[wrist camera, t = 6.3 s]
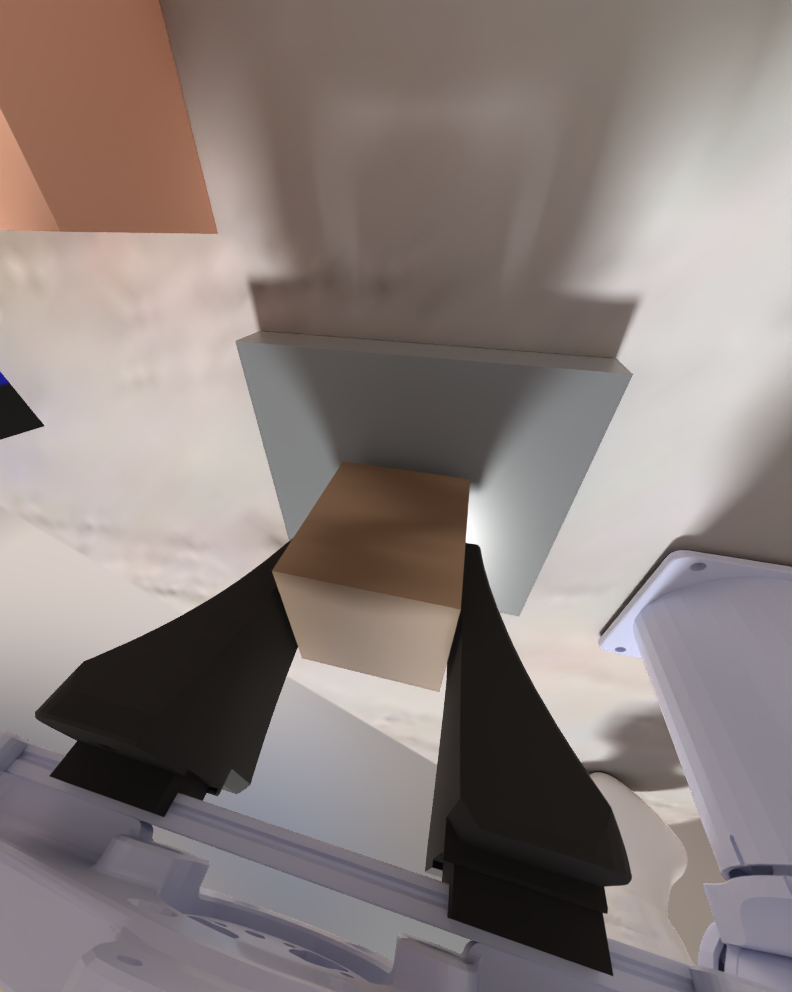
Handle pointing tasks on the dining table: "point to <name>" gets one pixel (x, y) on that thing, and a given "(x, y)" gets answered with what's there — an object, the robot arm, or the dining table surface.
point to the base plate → (438, 431)
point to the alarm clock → (14, 412)
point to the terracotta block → (95, 122)
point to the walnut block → (379, 573)
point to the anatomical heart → (643, 875)
